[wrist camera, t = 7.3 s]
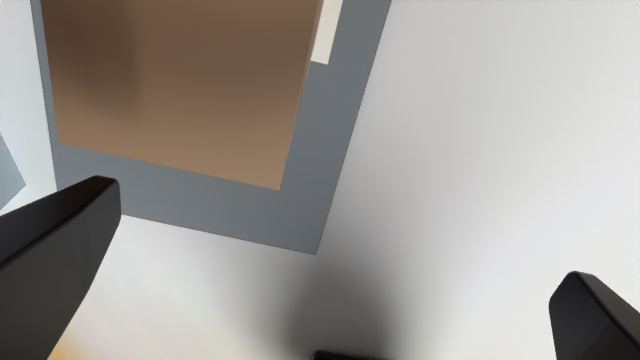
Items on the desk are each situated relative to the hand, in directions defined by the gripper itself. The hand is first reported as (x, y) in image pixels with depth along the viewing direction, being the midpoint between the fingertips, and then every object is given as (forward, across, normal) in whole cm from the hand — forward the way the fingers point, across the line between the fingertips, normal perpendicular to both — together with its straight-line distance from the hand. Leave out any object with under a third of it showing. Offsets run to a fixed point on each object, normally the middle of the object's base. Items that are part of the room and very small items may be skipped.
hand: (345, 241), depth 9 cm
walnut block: (+7, +4, -2) cm, 8 cm away
